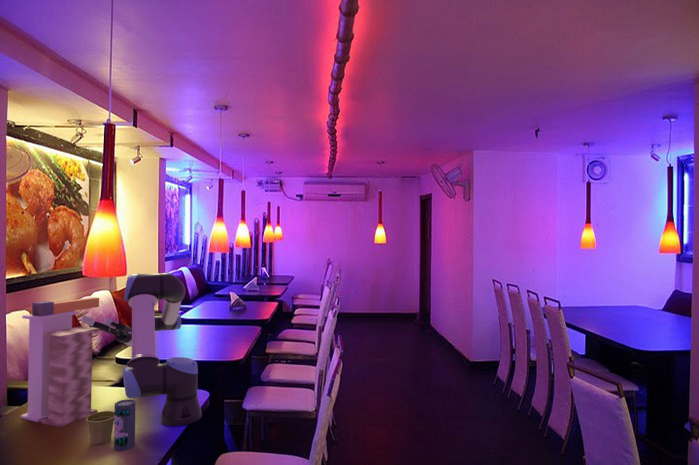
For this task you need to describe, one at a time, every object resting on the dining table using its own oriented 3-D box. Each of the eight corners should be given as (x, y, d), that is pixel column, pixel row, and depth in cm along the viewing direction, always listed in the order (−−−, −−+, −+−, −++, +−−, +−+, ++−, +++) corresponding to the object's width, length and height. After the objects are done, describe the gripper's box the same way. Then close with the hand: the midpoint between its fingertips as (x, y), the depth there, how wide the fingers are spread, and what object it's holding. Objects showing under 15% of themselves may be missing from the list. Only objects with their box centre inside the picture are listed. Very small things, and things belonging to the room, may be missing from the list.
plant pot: (103, 448, 152) (103, 422, 152) (78, 445, 154) (79, 420, 154) (122, 436, 162) (122, 412, 162) (99, 433, 163) (99, 409, 163)
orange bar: (91, 306, 202) (91, 295, 202) (100, 307, 200) (100, 295, 200) (32, 315, 178) (32, 302, 178) (40, 316, 176) (41, 303, 176)
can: (110, 447, 153) (111, 403, 153) (128, 441, 158) (129, 398, 158) (120, 452, 149) (121, 407, 149) (137, 446, 154) (138, 402, 154)
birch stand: (80, 408, 187) (81, 326, 187) (97, 412, 183) (98, 328, 183) (41, 422, 172) (42, 333, 172) (58, 427, 168) (60, 336, 169)
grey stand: (60, 404, 191) (61, 309, 192) (76, 407, 188) (78, 311, 188) (20, 417, 177) (22, 315, 177) (37, 422, 173) (39, 317, 173)
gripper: (144, 346, 205) (110, 329, 188) (104, 340, 214) (68, 325, 197) (151, 330, 209) (118, 313, 192) (111, 325, 218) (77, 309, 201)
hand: (93, 319), depth 195 cm, fingers open, 13 cm apart
